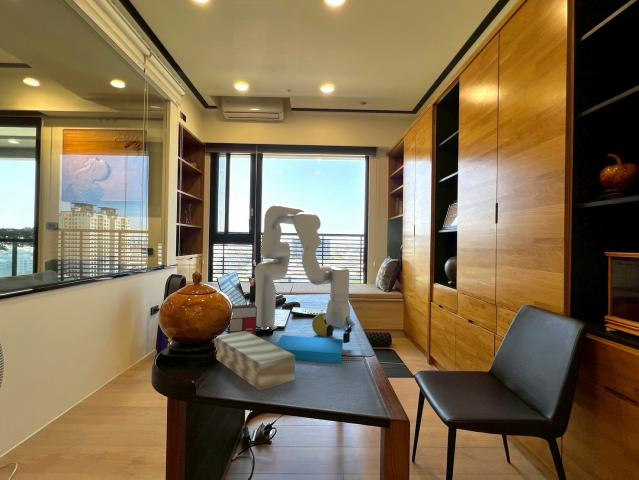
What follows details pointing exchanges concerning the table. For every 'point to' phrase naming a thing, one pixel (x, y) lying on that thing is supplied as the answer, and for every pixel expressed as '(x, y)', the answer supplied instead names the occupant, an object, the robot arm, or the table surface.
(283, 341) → the book
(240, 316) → the gray red box
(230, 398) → the table surface
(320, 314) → the decorative artifact
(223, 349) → the striped cream block
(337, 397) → the table surface
